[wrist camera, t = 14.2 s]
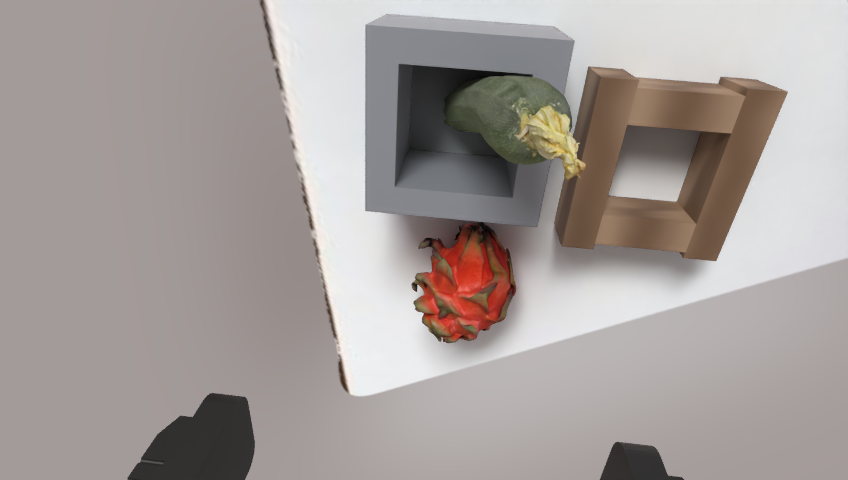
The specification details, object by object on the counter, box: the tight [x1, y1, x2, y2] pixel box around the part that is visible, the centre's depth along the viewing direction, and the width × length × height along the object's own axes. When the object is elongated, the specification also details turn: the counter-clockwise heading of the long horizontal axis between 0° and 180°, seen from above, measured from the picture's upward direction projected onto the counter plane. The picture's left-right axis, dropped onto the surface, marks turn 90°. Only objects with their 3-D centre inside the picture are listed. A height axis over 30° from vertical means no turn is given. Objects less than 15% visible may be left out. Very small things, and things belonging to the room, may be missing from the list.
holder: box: [365, 14, 574, 227], centre depth 34 cm, size 12×12×8 cm
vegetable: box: [444, 76, 586, 180], centre depth 28 cm, size 4×4×20 cm
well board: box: [554, 67, 788, 261], centre depth 36 cm, size 12×13×4 cm
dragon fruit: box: [412, 222, 516, 343], centre depth 41 cm, size 8×8×12 cm
